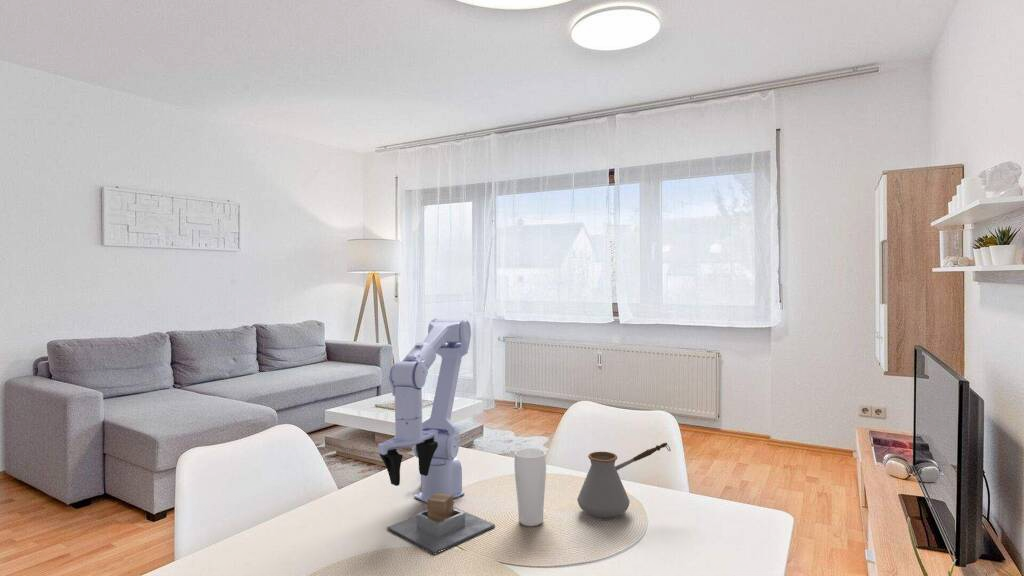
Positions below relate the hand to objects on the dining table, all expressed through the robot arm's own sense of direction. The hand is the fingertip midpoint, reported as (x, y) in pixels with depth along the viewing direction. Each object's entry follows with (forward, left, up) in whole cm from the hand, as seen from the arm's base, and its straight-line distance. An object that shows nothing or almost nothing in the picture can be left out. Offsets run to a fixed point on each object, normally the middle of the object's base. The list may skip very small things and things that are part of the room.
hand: (409, 479), depth 120 cm
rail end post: (-3, +7, -9) cm, 12 cm away
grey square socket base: (-3, +7, -9) cm, 12 cm away
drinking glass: (-18, +19, -10) cm, 28 cm away
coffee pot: (-36, +31, -10) cm, 48 cm away
